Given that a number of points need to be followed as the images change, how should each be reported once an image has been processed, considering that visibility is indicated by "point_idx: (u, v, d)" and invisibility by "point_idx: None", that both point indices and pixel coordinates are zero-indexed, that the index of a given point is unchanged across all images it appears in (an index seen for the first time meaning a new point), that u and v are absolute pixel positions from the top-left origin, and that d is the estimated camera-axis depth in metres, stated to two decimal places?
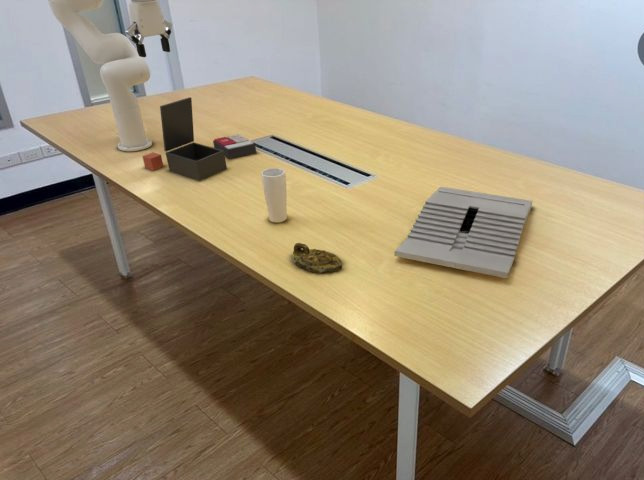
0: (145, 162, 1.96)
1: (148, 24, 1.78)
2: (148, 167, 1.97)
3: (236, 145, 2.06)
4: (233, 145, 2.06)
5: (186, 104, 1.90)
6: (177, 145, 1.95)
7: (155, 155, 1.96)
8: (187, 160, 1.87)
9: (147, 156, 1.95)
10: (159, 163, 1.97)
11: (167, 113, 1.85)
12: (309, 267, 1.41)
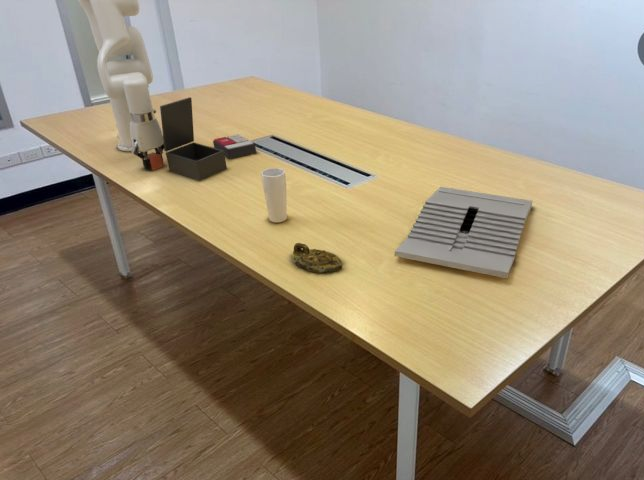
0: None
1: (147, 140, 1.90)
2: None
3: (236, 145, 2.06)
4: (233, 145, 2.06)
5: (186, 104, 1.90)
6: (177, 145, 1.95)
7: (155, 155, 1.96)
8: (187, 160, 1.87)
9: None
10: (159, 163, 1.97)
11: (167, 113, 1.85)
12: (309, 267, 1.41)
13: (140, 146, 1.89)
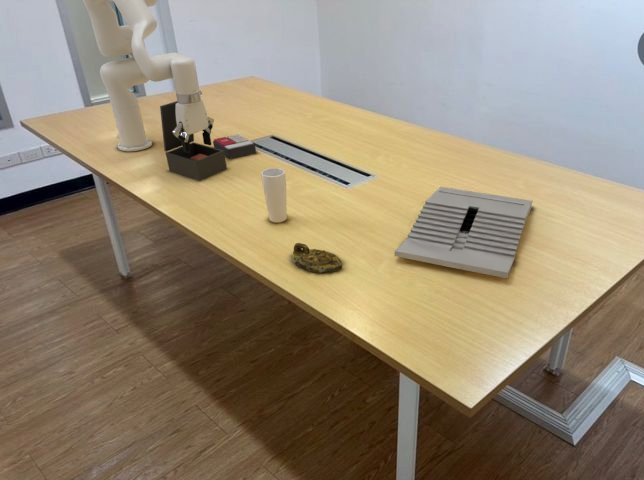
0: None
1: (193, 122, 1.83)
2: None
3: (236, 145, 2.06)
4: (233, 145, 2.06)
5: None
6: (177, 145, 1.95)
7: (203, 157, 1.93)
8: (187, 160, 1.87)
9: (195, 158, 1.92)
10: None
11: (167, 113, 1.85)
12: (309, 267, 1.41)
13: (186, 129, 1.82)
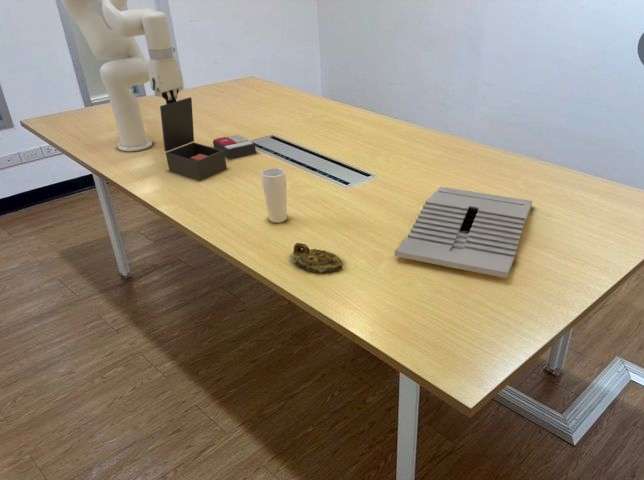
0: None
1: (166, 80, 1.81)
2: None
3: (236, 145, 2.06)
4: (233, 145, 2.06)
5: (186, 104, 1.90)
6: (177, 145, 1.95)
7: (203, 157, 1.93)
8: (187, 160, 1.87)
9: (195, 158, 1.92)
10: None
11: (167, 113, 1.85)
12: (309, 267, 1.41)
13: (159, 85, 1.80)
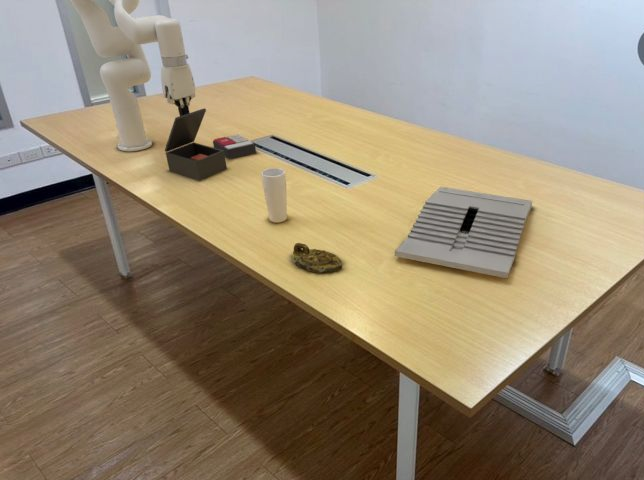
0: None
1: (179, 87, 1.79)
2: None
3: (236, 145, 2.06)
4: (233, 145, 2.06)
5: (199, 115, 1.88)
6: (178, 146, 1.95)
7: (203, 157, 1.93)
8: (187, 160, 1.87)
9: (195, 158, 1.92)
10: None
11: (179, 123, 1.84)
12: (309, 267, 1.41)
13: (172, 93, 1.78)
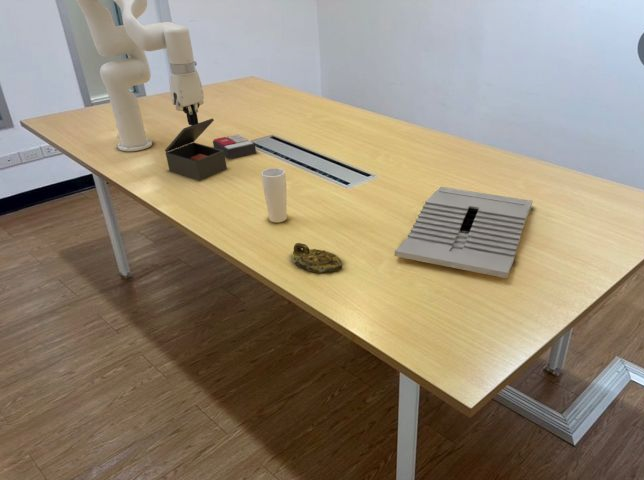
0: None
1: (188, 94, 1.78)
2: None
3: (236, 145, 2.06)
4: (233, 145, 2.06)
5: (206, 124, 1.89)
6: (178, 147, 1.95)
7: (203, 157, 1.93)
8: (187, 160, 1.87)
9: (195, 158, 1.92)
10: None
11: (186, 132, 1.84)
12: (309, 267, 1.41)
13: (180, 100, 1.77)
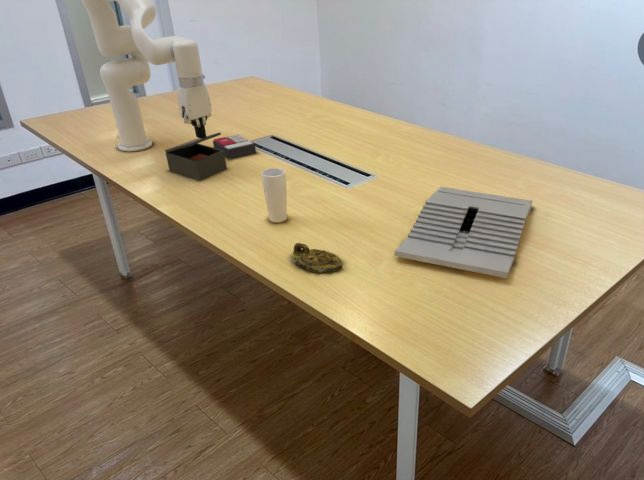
0: None
1: (196, 107, 1.79)
2: None
3: (236, 145, 2.06)
4: (233, 145, 2.06)
5: None
6: None
7: (203, 157, 1.93)
8: (187, 160, 1.87)
9: (195, 158, 1.92)
10: None
11: None
12: (309, 267, 1.41)
13: (188, 113, 1.78)
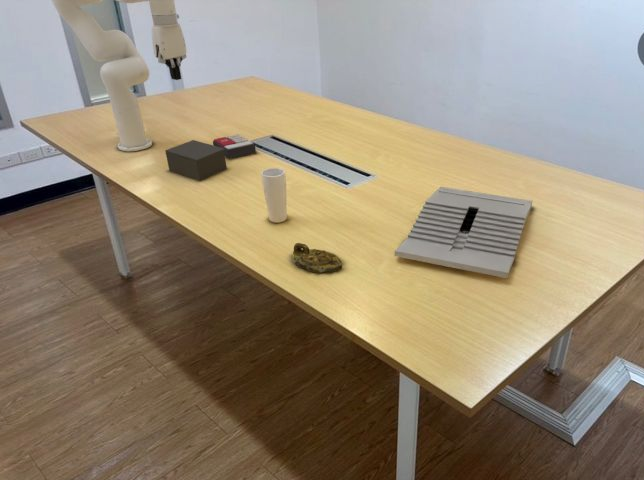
0: None
1: (170, 46, 1.80)
2: None
3: (236, 145, 2.06)
4: (233, 145, 2.06)
5: None
6: None
7: None
8: (187, 160, 1.87)
9: None
10: None
11: None
12: (309, 267, 1.41)
13: (162, 52, 1.79)
